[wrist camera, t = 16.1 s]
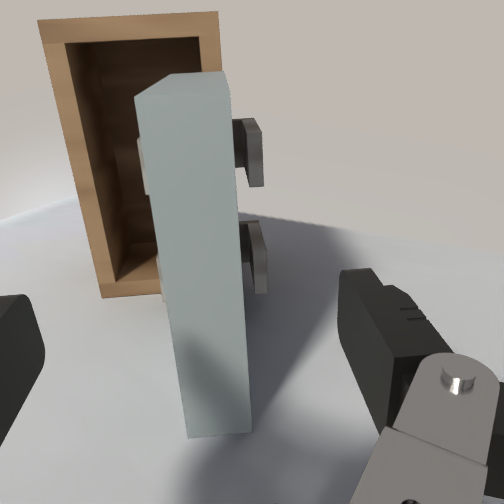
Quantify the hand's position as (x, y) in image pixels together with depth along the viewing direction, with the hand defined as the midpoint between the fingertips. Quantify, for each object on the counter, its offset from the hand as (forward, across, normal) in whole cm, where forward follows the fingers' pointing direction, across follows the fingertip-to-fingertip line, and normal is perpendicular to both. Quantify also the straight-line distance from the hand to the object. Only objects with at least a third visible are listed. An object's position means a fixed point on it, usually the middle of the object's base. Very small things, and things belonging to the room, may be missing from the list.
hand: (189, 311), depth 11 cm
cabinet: (+20, +3, +10) cm, 23 cm away
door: (+11, 0, +10) cm, 15 cm away
